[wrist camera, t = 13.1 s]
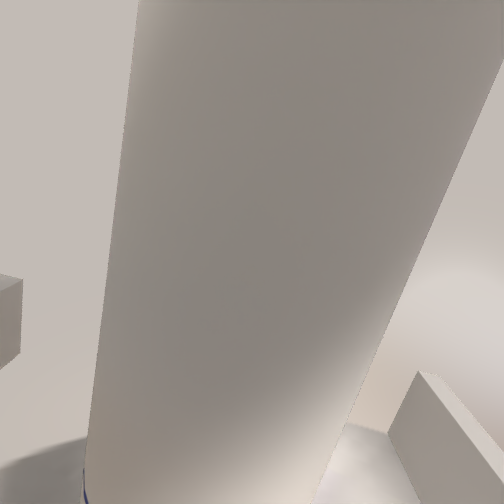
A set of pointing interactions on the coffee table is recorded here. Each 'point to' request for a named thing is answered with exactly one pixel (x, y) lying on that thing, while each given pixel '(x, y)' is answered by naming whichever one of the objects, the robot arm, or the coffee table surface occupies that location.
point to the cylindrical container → (269, 231)
